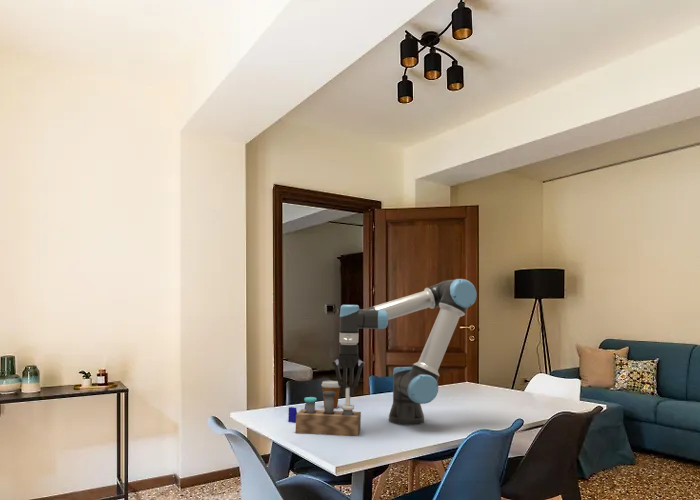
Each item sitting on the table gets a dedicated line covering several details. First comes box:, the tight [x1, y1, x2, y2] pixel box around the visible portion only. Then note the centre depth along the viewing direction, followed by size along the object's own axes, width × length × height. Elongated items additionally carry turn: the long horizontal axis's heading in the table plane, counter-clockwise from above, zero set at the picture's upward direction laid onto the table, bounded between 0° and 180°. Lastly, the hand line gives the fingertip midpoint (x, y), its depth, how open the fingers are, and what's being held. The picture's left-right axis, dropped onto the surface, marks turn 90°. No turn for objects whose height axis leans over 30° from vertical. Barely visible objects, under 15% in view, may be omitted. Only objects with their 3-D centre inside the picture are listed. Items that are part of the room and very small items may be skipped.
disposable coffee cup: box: [321, 380, 341, 409], centre depth 250 cm, size 10×10×12 cm
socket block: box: [295, 408, 362, 437], centre depth 204 cm, size 24×10×7 cm, turn 82°
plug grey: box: [341, 403, 355, 415], centre depth 203 cm, size 5×5×9 cm
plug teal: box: [303, 396, 318, 414], centre depth 205 cm, size 5×5×9 cm
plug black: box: [322, 391, 335, 414], centre depth 205 cm, size 5×5×9 cm
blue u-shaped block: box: [287, 403, 306, 424], centre depth 223 cm, size 12×4×6 cm, turn 143°
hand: (347, 404), depth 203 cm, fingers closed
